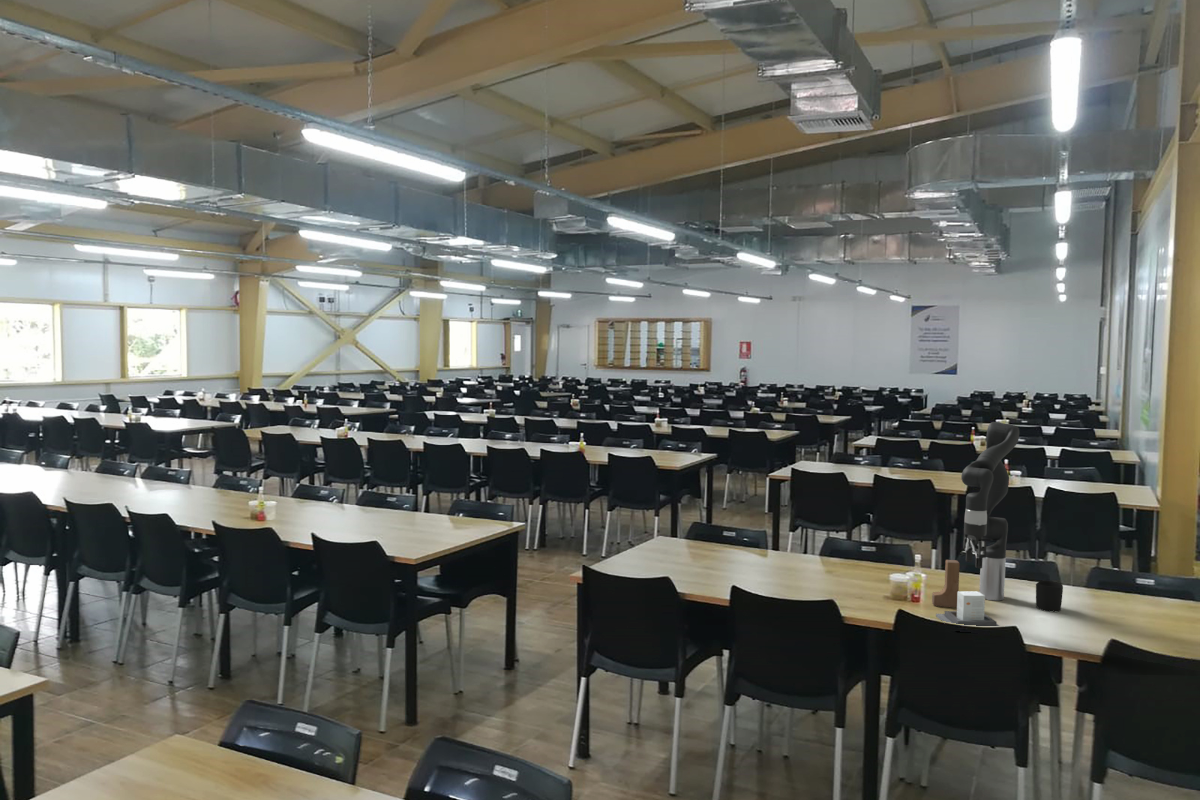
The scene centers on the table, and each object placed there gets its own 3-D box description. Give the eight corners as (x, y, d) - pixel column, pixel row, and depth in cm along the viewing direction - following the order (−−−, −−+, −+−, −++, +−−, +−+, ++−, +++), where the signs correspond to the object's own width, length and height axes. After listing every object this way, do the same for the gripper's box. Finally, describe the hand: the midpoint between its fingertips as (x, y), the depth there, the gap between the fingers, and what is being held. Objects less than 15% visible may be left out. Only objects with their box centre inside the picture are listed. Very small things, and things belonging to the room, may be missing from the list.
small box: (977, 618, 315) (978, 591, 315) (984, 623, 310) (985, 595, 309) (956, 618, 315) (957, 590, 315) (962, 623, 310) (963, 595, 309)
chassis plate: (935, 616, 321) (936, 608, 321) (983, 616, 321) (983, 609, 321) (955, 631, 303) (955, 623, 303) (1005, 632, 303) (1006, 624, 303)
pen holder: (1067, 612, 329) (1068, 586, 329) (1045, 612, 328) (1046, 587, 327) (1051, 604, 339) (1052, 580, 338) (1029, 605, 337) (1030, 580, 337)
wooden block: (933, 606, 334) (935, 561, 333) (931, 603, 339) (933, 558, 337) (958, 608, 332) (959, 562, 331) (955, 604, 337) (957, 560, 336)
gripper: (957, 517, 318) (955, 559, 319) (973, 525, 304) (971, 570, 305) (977, 517, 318) (975, 560, 319) (994, 526, 304) (992, 570, 305)
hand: (973, 564), depth 312 cm, fingers open, 8 cm apart
